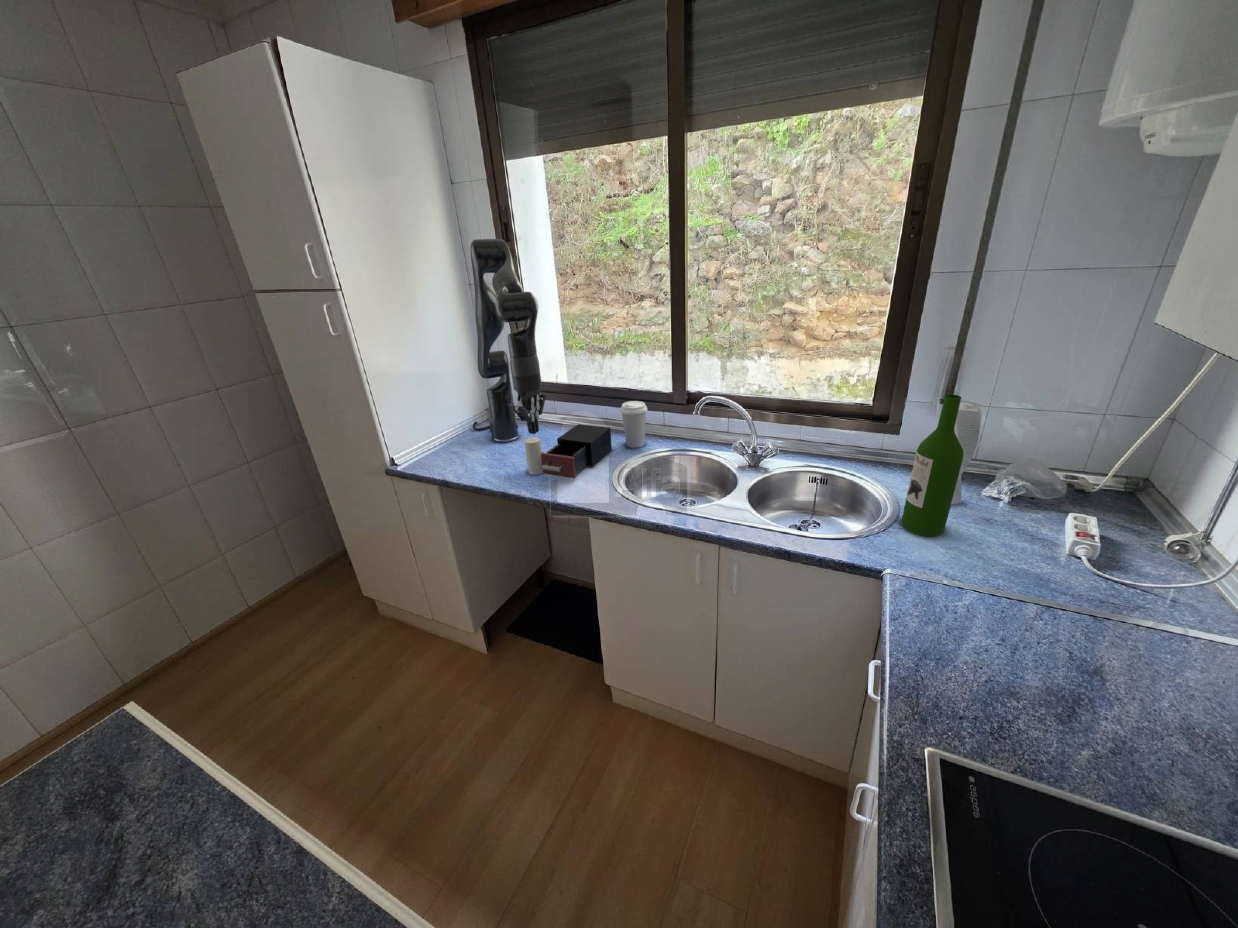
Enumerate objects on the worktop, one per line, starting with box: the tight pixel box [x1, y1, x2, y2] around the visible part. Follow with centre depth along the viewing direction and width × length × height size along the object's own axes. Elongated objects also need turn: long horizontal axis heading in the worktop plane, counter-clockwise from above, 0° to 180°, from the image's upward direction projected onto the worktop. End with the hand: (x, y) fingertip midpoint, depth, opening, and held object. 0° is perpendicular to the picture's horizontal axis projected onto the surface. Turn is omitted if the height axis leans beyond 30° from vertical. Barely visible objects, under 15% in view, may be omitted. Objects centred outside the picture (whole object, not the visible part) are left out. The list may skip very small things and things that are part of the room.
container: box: [523, 436, 543, 476], centre depth 156 cm, size 5×5×11 cm
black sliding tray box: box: [556, 423, 613, 468], centre depth 165 cm, size 15×13×9 cm
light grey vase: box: [951, 398, 982, 506], centre depth 122 cm, size 8×8×28 cm
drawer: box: [541, 441, 590, 479], centre depth 154 cm, size 18×11×7 cm, turn 155°
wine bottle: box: [900, 394, 963, 538], centre depth 110 cm, size 9×9×32 cm
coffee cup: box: [619, 400, 648, 449], centre depth 172 cm, size 10×10×15 cm
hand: (533, 432), depth 136 cm, fingers closed
